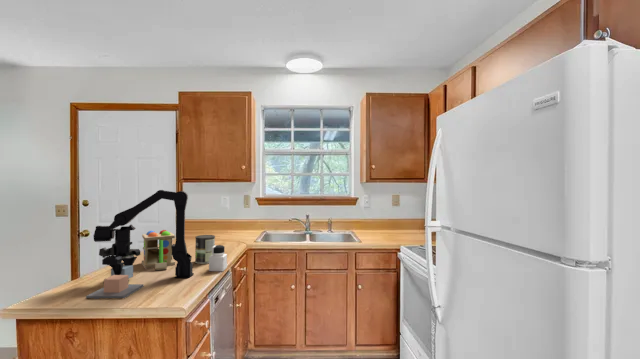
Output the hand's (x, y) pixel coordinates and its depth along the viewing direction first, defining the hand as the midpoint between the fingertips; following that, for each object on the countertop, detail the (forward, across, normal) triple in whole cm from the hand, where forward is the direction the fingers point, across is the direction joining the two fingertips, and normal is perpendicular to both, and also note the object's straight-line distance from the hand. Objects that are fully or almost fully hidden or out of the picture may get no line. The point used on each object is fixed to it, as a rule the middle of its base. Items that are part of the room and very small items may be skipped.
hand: (122, 276), depth 141 cm
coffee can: (+3, -36, +24) cm, 43 cm away
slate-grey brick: (+1, 0, 0) cm, 1 cm away
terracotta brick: (+1, +14, +6) cm, 15 cm away
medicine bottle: (+3, -20, +36) cm, 41 cm away
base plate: (+2, +14, +6) cm, 15 cm away
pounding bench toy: (+3, -27, +3) cm, 28 cm away
